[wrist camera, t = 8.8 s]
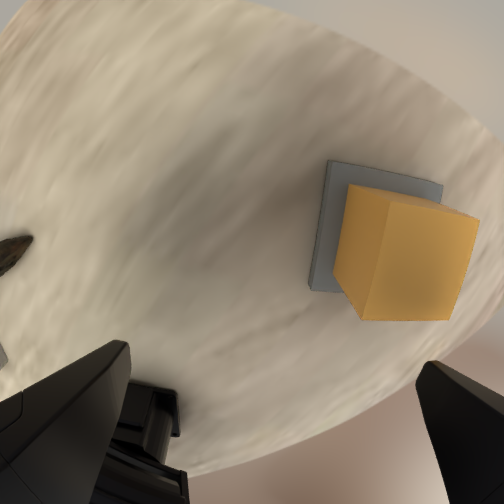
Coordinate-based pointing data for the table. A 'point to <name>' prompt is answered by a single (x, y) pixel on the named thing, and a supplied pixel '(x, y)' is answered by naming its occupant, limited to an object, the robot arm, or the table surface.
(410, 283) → the orange foam cube
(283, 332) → the table surface
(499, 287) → the table surface
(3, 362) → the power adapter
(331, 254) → the grey base with peg
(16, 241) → the hand tool
